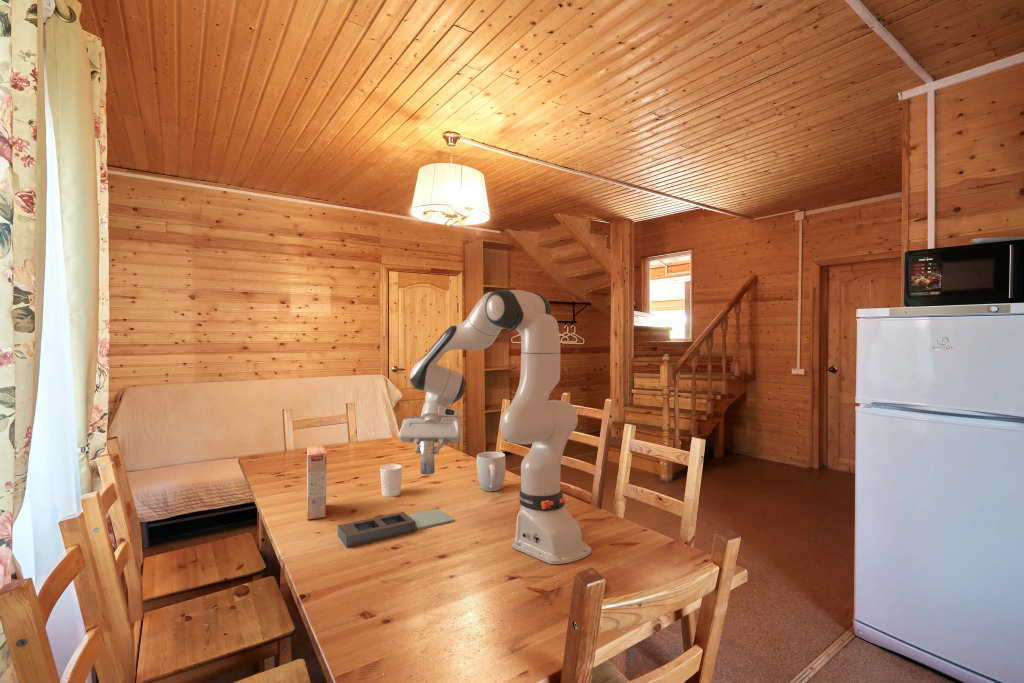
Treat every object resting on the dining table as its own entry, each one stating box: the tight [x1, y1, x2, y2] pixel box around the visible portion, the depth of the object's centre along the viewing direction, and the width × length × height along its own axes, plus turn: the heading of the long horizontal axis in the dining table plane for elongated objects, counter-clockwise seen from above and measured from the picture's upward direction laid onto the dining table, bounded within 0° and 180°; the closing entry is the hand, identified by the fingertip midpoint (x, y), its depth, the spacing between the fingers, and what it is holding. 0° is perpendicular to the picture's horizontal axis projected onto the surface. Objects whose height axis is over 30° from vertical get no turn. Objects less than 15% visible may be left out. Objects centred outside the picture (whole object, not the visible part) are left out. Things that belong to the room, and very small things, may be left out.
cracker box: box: [306, 445, 327, 520], centre depth 162 cm, size 14×6×21 cm, turn 23°
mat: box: [407, 508, 455, 531], centre depth 154 cm, size 12×12×1 cm
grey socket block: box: [337, 511, 417, 548], centre depth 144 cm, size 10×20×3 cm, turn 123°
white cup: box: [379, 463, 403, 497], centre depth 181 cm, size 8×8×10 cm
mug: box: [476, 451, 507, 493], centre depth 183 cm, size 15×11×13 cm
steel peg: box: [419, 440, 436, 475], centre depth 154 cm, size 4×4×10 cm
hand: (426, 452), depth 154 cm, fingers closed on steel peg, 4 cm apart
